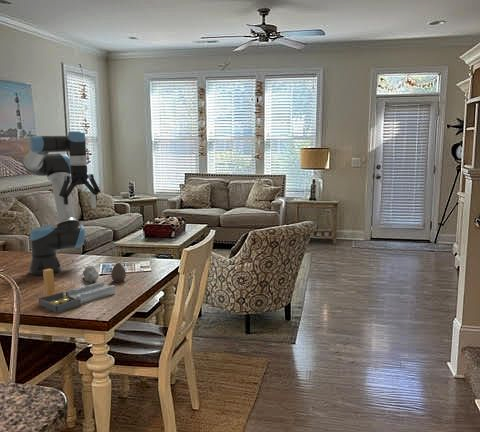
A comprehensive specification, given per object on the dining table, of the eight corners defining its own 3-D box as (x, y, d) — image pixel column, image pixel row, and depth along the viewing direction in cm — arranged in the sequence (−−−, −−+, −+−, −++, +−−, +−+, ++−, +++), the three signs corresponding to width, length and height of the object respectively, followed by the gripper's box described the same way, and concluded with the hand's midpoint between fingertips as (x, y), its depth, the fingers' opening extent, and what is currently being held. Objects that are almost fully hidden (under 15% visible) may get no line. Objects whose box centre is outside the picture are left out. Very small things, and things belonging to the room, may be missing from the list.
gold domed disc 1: (47, 306, 194) (47, 301, 193) (57, 303, 197) (56, 299, 196) (52, 308, 191) (52, 303, 191) (61, 305, 194) (61, 301, 194)
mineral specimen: (102, 283, 224) (101, 270, 223) (86, 286, 222) (85, 272, 220) (98, 275, 239) (97, 262, 237) (83, 277, 236) (82, 264, 235)
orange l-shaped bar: (43, 298, 205) (41, 269, 202) (50, 296, 207) (47, 267, 205) (50, 301, 201) (48, 271, 199) (57, 299, 203) (54, 270, 201)
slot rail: (66, 299, 203) (65, 291, 203) (102, 288, 217) (101, 281, 216) (78, 304, 197) (78, 296, 196) (115, 293, 210) (114, 285, 210)
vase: (113, 278, 232) (113, 261, 230) (127, 278, 232) (127, 261, 230) (109, 283, 225) (108, 265, 224) (124, 283, 225) (123, 265, 223)
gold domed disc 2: (57, 304, 196) (56, 299, 196) (65, 301, 200) (65, 296, 199) (62, 306, 194) (62, 301, 194) (71, 303, 197) (70, 298, 197)
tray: (39, 305, 196) (38, 298, 196) (63, 298, 204) (62, 291, 204) (56, 313, 187) (56, 306, 187) (81, 305, 195) (80, 298, 195)
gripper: (57, 166, 209) (61, 213, 213) (106, 163, 228) (108, 207, 232) (49, 165, 214) (52, 212, 217) (97, 163, 233) (99, 205, 236)
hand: (81, 209), depth 225 cm, fingers open, 13 cm apart
